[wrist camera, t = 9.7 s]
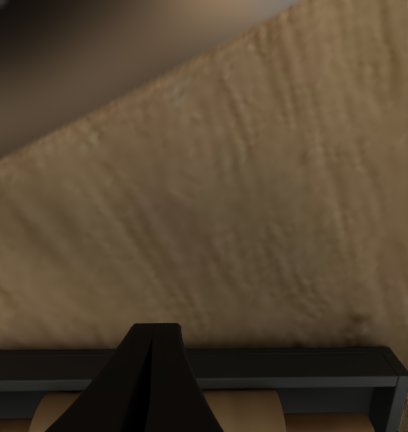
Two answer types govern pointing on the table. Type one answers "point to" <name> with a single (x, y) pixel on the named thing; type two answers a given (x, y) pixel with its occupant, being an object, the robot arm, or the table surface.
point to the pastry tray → (233, 378)
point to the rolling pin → (217, 413)
